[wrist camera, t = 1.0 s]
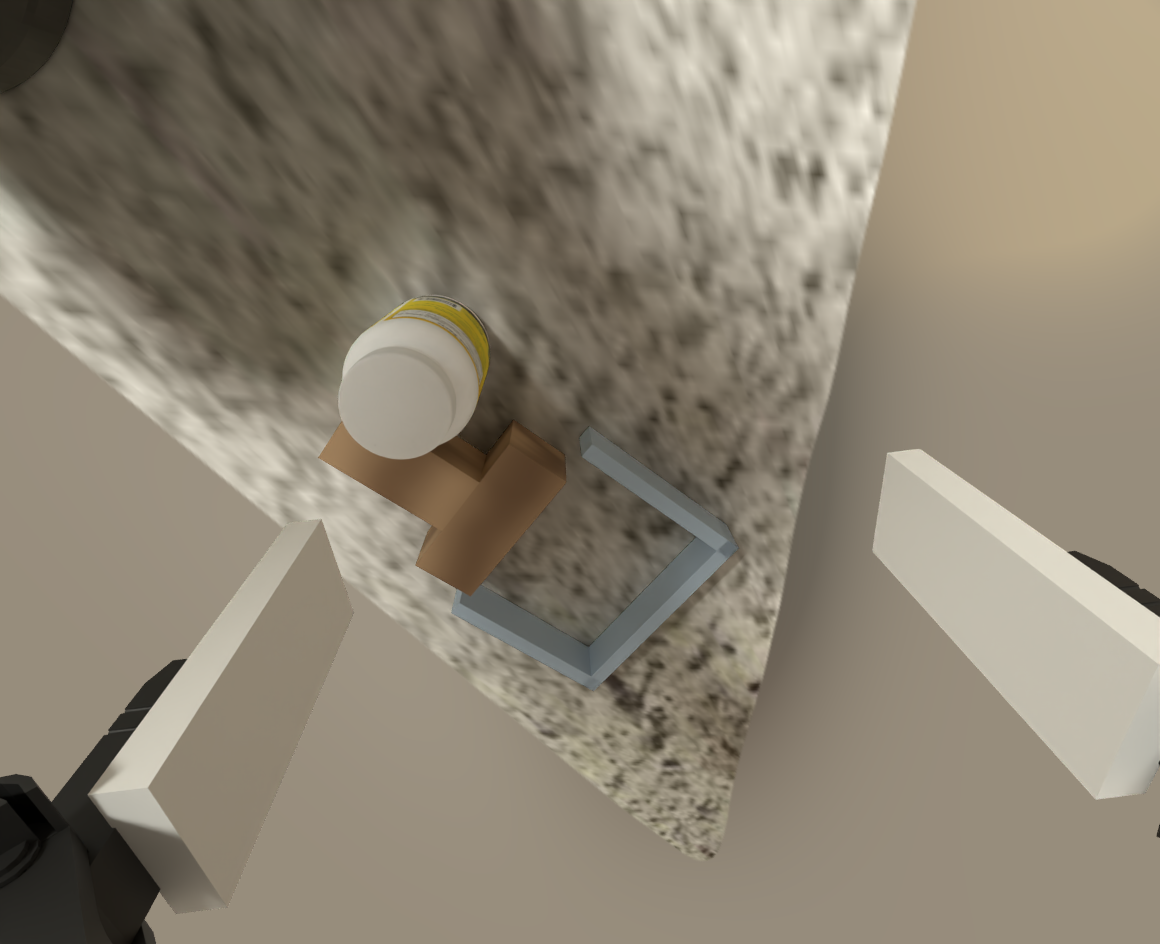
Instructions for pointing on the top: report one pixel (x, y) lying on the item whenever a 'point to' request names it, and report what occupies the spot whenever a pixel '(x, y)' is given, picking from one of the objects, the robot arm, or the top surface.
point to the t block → (462, 495)
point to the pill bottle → (414, 377)
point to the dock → (644, 611)
